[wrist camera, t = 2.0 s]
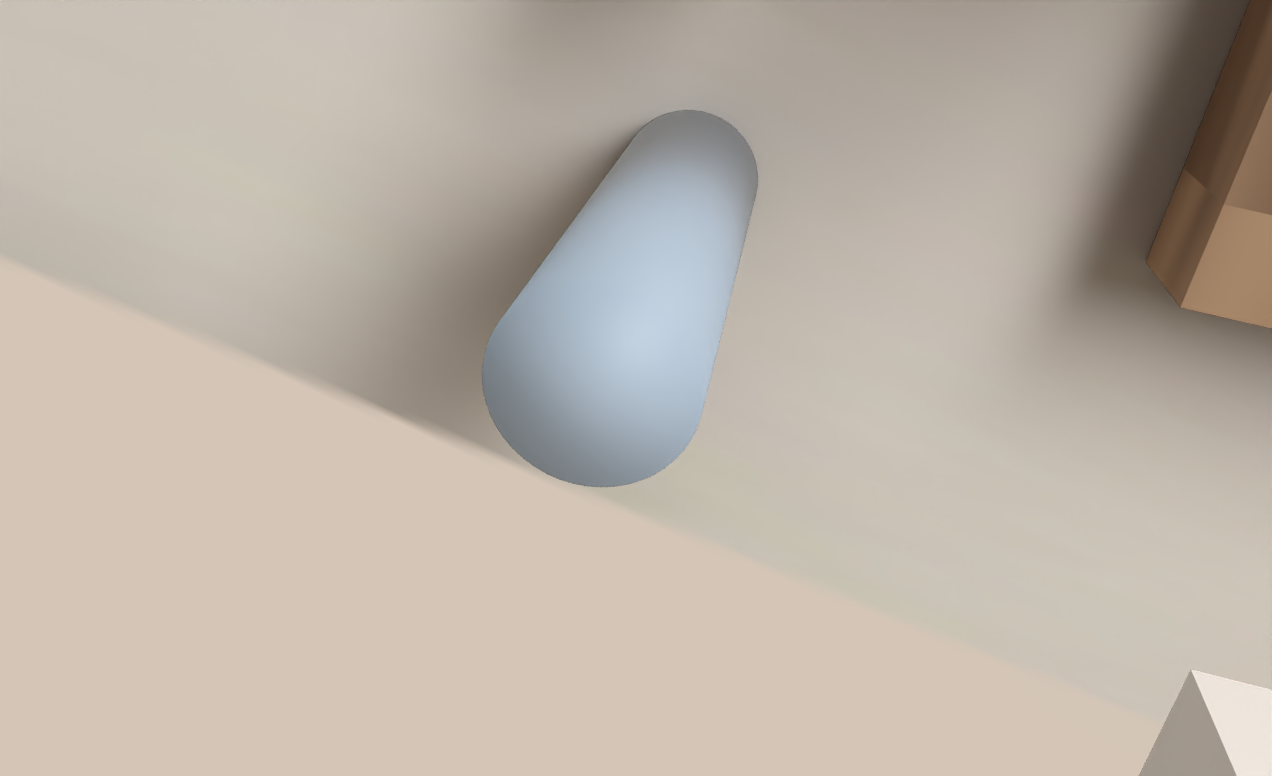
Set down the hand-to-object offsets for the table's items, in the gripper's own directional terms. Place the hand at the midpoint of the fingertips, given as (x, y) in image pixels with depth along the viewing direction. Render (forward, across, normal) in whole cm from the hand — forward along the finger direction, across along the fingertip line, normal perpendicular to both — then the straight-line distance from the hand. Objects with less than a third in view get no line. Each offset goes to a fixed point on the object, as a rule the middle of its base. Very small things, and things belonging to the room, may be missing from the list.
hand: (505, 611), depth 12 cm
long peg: (+17, 0, 0) cm, 17 cm away
